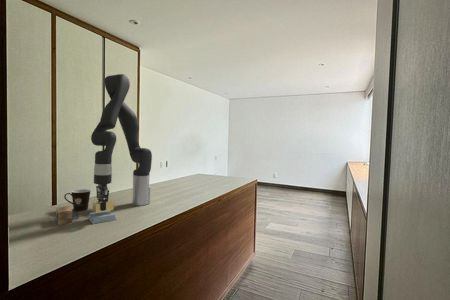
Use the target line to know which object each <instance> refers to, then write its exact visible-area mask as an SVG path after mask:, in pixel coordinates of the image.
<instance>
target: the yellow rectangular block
mask: <svg viewBox="0 0 450 300" xmlns="http://www.w3.org/2000/svg"><path fill="white" fill-rule="evenodd" d="M114 203H115V201H113V200H111V199H108V202H106V210H105V211H114V210H115V209H114V207H115V206H114ZM100 209H101V202H98V201H93V202H92V212H93V213H94V212H95V213H98V212H104V211H101V210H100Z"/></svg>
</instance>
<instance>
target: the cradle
mask: <svg viewBox="0 0 450 300" xmlns="http://www.w3.org/2000/svg"><path fill="white" fill-rule="evenodd" d="M88 220H89V222H90V223H91V224H92V225H94V224H99V223H104V222H111V221H117V217H116V213H112V210H110V211H104V212H98V213H95V212H94V211H93V212H89V215H88Z"/></svg>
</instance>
